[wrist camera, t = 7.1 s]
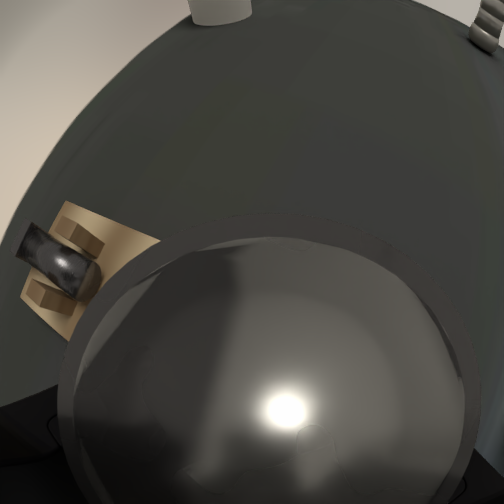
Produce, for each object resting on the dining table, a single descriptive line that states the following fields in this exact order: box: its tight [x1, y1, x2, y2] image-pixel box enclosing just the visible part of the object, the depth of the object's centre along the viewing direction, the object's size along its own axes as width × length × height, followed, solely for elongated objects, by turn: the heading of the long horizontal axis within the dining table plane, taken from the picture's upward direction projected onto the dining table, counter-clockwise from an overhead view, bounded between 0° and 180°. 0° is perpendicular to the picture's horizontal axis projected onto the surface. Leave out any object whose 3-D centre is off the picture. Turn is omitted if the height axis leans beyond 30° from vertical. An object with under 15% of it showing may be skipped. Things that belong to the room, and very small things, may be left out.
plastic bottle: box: [469, 0, 504, 53], centre depth 19 cm, size 6×7×20 cm
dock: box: [20, 201, 160, 341], centre depth 13 cm, size 26×8×6 cm, turn 67°
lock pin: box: [10, 218, 101, 302], centre depth 14 cm, size 7×2×2 cm, turn 67°
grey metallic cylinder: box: [57, 213, 481, 504], centre depth 8 cm, size 5×5×12 cm
